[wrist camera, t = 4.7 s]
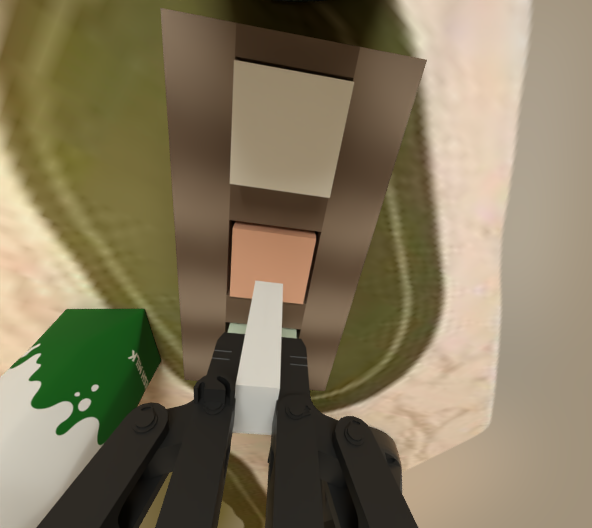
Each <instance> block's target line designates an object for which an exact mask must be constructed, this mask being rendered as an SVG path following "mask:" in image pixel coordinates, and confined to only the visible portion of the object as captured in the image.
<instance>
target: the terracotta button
mask: <svg viewBox="0 0 592 528" xmlns="http://www.w3.org/2000/svg"><path fill="white" fill-rule="evenodd" d="M315 243H316V235H315V231H311V230H303V229H295V228H288V227H280V226H273V225H265V224H257V223H250V222H242V221H236V222H235V224H234V226H233V233H232V256H231V279H230V296H231V297H240V298H250V299H252V296H253V291H254V286H255V281H264V282H272V283H281V284H283V302H287V303H296V304H303V302H304V297H305V292H306V287H307V282H308V277H309V272H310V267H311V262H312V257H313V253H314V248H315Z"/></svg>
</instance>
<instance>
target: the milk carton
mask: <svg viewBox="0 0 592 528" xmlns="http://www.w3.org/2000/svg"><path fill="white" fill-rule="evenodd" d="M160 362H161V359H160V356H159V353H158V350H157V347H156V344H155V341H154V337H153V334H152V331H151V328H150V325H149V322H148V319H147V316H146V313H145V310H144V309H66V310H65V311H64V313H63V314H62V315H61V316H60V317H59V318H58V319H57V320H56V321H55V322H54V323H53V324H52V325H51V327H50V328H49V329H48V330H47V331H46V332H45V333H44V334H43V335H42V336H41V337H40V338H39V339H38V341H37V342H36V343H35V344H34V345H33V346H32V347H31V348H30V349H29V350H28V351H27V352H26V353H25V354H24V355H23V356H22V357H21V358H20V359H19V360H18V361H16V362H15V363H14V364H13V365H12V366H11V367H10V368H9V369H8V370H7V371H6V372H5V373H4V374H3V375H2V376H1V377H0V528H36V527H37V526H38V525H39V524H40V522H41V521H42V520H43V519H44V517H45V516H46V515H47V514H48V512H49V511H50V510H51V509H52V507H53V506H54V505H55V504H56V502H57V501H58V500H59V499H60V498H61V496H62V495H63V494H64V493H65V491H66V490H67V489H68V488H69V486H70V485H71V484H72V483H73V481H74V480H75V479H76V478H77V476H78V475H79V474H80V473H81V471H82V470H83V469H84V468H85V466H86V465H87V464H88V463H89V462H90V460H91V459H92V458H93V457H94V455H95V454H96V453H97V452H98V450H99V449H100V448H101V447H102V445H103V444H104V443H105V442H106V440H107V439H108V438H109V437H110V435H111V434H112V433H113V432H114V430H115V429H116V428H117V427H118V426H119V424H120V423H121V422H122V421H123V419H124V418H125V417H126V416H127V415H128V414H129V413H130V412H131V411H132V410H133V409H135V408H136V407H137V406H138V404H139V402H140V400H141V398H142V396H143V394H144V392H145V390H146V388H147V386H148V384H149V383H150V381H151V379H152V377H153V375H154V373H155V371H156V370H157V368H158V366H159V364H160Z"/></svg>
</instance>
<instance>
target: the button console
mask: <svg viewBox="0 0 592 528" xmlns="http://www.w3.org/2000/svg"><path fill="white" fill-rule="evenodd" d="M161 22H162V37H163V53H164V68H165V84H166V99H167V115H168V130H169V146H170V161H171V177H172V192H173V207H174V223H175V238H176V254H177V269H178V285H179V300H180V316H181V331H182V346H183V362H184V377H185V380H195V381H198V380H200V379H201V378H202V377H203V376H206V375H207V372H208V369H209V365H210V362H211V359H212V355H213V352H214V349H215V346H216V342H217V340H218V339H219V338H220V336H221V335H222V334H223V333H224V332H228V329H229V325H230V322H231V323H241V324H247V322H248V317H249V312H250V307H251V301H252V299H250V298H240V297H231V296H230V279H231V256H232V233H233V226H234V224H235V222H236V221H242V222H250V223H257V224H265V225H273V226H280V227H288V228H295V229H303V230H311V231H315V235H316V243H315V248H314V253H313V257H312V262H311V267H310V272H309V277H308V282H307V287H306V292H305V297H304V302H303V304H296V303H287V302H283V303H282V328H291V329H296V337H297V338H298V339H302V341H303V343H304V344H305V346H306V350H307V363H308V366H307V367H308V376H309V390H320V391H325V388H326V385H327V382H328V379H329V375H330V372H331V369H332V366H333V362H334V359H335V356H336V353H337V350H338V346H339V343H340V340H341V337H342V333H343V330H344V327H345V324H346V320H347V317H348V314H349V311H350V307H351V304H352V301H353V298H354V294H355V291H356V288H357V285H358V281H359V278H360V275H361V272H362V269H363V265H364V262H365V259H366V256H367V252H368V249H369V246H370V243H371V239H372V236H373V233H374V230H375V226H376V223H377V220H378V217H379V213H380V210H381V207H382V204H383V200H384V197H385V194H386V191H387V188H388V184H389V181H390V178H391V175H392V171H393V168H394V165H395V162H396V158H397V155H398V152H399V149H400V145H401V142H402V139H403V136H404V132H405V129H406V126H407V123H408V119H409V116H410V113H411V110H412V107H413V103H414V100H415V97H416V94H417V90H418V87H419V84H420V81H421V77H422V74H423V71H424V68H425V64H426V61H427V60H425V59H420V58H414V57H409V56H404V55H399V54H394V53H389V52H384V51H379V50H373V49H368V48H363V47H358V46H353V45H348V44H343V43H338V42H332V41H327V40H322V39H317V38H312V37H307V36H302V35H296V34H291V33H286V32H281V31H276V30H271V29H266V28H261V27H255V26H250V25H245V24H240V23H235V22H230V21H225V20H220V19H214V18H209V17H204V16H199V15H194V14H189V13H184V12H178V11H173V10H168V9H163V8H161ZM234 60H238V61H243V62H249V63H254V64H259V65H265V66H270V67H276V68H281V69H287V70H292V71H298V72H303V73H309V74H314V75H320V76H325V77H331V78H336V79H341V80H347V81H352V82H354V86H353V91H352V96H351V100H350V105H349V110H348V114H347V119H346V124H345V129H344V133H343V138H342V143H341V147H340V152H339V157H338V162H337V166H336V171H335V176H334V180H333V185H332V190H331V194H330V198H326V197H319V196H312V195H305V194H298V193H291V192H284V191H277V190H270V189H263V188H256V187H249V186H242V185H235V184H230V160H231V131H232V102H233V73H234Z"/></svg>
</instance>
